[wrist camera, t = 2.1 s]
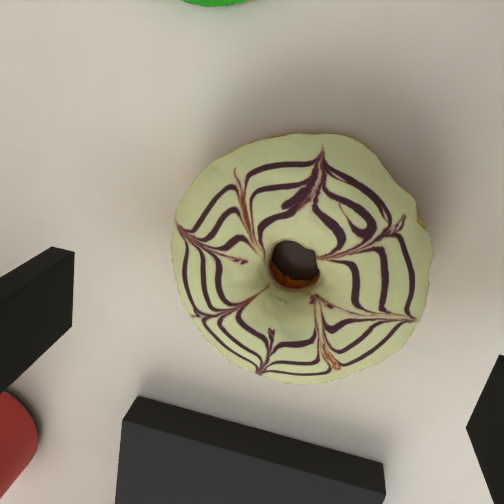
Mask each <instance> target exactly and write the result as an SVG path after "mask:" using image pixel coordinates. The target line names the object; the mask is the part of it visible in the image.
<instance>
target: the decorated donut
mask: <svg viewBox="0 0 504 504" xmlns="http://www.w3.org/2000/svg"><path fill="white" fill-rule="evenodd" d="M284 240H291V241H295V242H297V243H299V244H301V245H302V246H303V247H305V248H307V249H312V250H314V251H315V256H316V262H317V266H318V268H319V270H320V271H319V274H318V275H317V276H316V277H314V278H313V280H309V281H306V280H305V281H303V280H301V281H299V280H297V279H296V280H292V279H290V278H289V277H288V276H283V274H284V273H281V272H280V271H279V270H278V269H277V267H276V265H274V263H273V262H272V260H271V257H272V253H273V249H274V247H275V245H276V244H277V243H279V242H281V241H284ZM171 250H172V262H173V266H174V274H175V279H176V282H177V287H178V292H179V295H180V297H181V299H182V301H183V304H184V306H185V309H186V311H187V313H188V315H189V316H190V318H191V320H192V321H193V323H195V324H196V326H197V328H198V329H199V331H200V332H201V334H202V335H203V336H204V337H205V339H206V340H207V341H208V342H209V343H210V344H211V345H212V346H213V347H214V348H216V349H217V350H218V352H219V353H220V354H221V355H222V356H223V357H224V358H226V359H227V360H229V361H230V362H232V363H234V364H236V365H237V366H238V367H240V368H244V369H247V370H249V371H251V372H254V373H255V374H258V375H260V376H262V377H265V378H268V379H273V380H279V381H282V382H284V383H288V384H291V383H294V384H310V383H325V382H329V381H332V380H335V379H337V378H341V377H344V376H347V375H349V374H351V373H354V372H356V371H359V370H362V369H364V368H366V367H369V366H372V365H375V364H377V363H379V362H381V361H383V360H385V359H386V358H387V357H389V356H390V355H392V354H394V353H395V352H396V351H398V350H399V349H400V348H401V347H402V346H403V345H404V344H405V343H406V341H407V340H408V338H409V337H410V335H411V334H412V332H413V330H414V328H415V326H416V324H417V323H418V322H419V321H420V319H421V316H422V313H423V310H424V308H425V304H426V299H427V294H428V289H429V285H430V282H429V268H430V265H431V262H432V259H433V254H434V252H433V247H432V242H431V238H430V236H429V234H428V233H427V231H426V228H425V226H424V224H423V222H422V221H421V220H420V218H419V217H418V213H417V211H416V202H415V200H414V198H413V197H412V196H411V195H410V194H409V193H408V192H406V191H405V190H403V189H402V188H401V187H400V186H399V185H398V184H397V183H396V182H395V181H394V180H393V178H392V177H391V175H390V174H389V172H388V171H387V170H386V169H385V168H384V167H383V165H382V163H381V162H380V160H379V159H378V157H377V156H376V155H375V154H374V153H373V152H372V151H370V150H369V149H368V148H366V147H365V146H364V145H363V144H362V143H360V142H358V141H356V140H354V139H352V138H349V137H346V136H342V135H337V134H318V135H311V134H289V135H286V136H279V137H272V138H268V139H264V140H258V141H254V142H251V143H249V144H246V145H243V146H241V147H240V148H238V149H236V150H234V151H232V152H231V153H229V154H227V155H225V156H223V157H221V158H219V159H217V160H215V161H214V162H212V163H211V164H210V165H209V166H207V167H206V168H205V169H204V170H203V171H202V172H201V173H200V174H199V175H198V176H197V177H196V178H195V180H194V181H193V182H192V184H191V186H190V188H189V189H188V190H187V191H186V192H185V194H184V196H183V198H182V199H181V200H180V202H179V204H178V206H177V209H176V215H175V220H174V230H173V234H172V243H171Z"/></svg>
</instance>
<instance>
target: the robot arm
mask: <svg viewBox="0 0 504 504" xmlns="http://www.w3.org/2000/svg"><path fill="white" fill-rule="evenodd" d="M74 257H75V252H73V251H69V250H65V249H61V248H56V247H50V248H49V249H47V250H45V251H44V252H42V253H40V254H39V255H37V256H35V257H34V258H32V259H30V260H29V261H27V262H25V263H24V264H22V265H20V266H19V267H17V268H15V269H14V270H12V271H10V272H9V273H7V274H5V275H4V276H2V277H0V394H1V393H2V392H3V391H5V390H6V389H7V388H8V387H9V386H10V385H11V384H12V383H13V382H14V381H15V380H16V379H17V378H18V377H19V376H20V375H21V374H22V373H23V372H24V371H26V370H27V369H28V368H29V367H30V366H31V365H32V364H33V363H34V362H35V361H36V360H37V359H38V358H39V357H40V356H41V355H42V354H43V353H44V352H45V351H47V350H48V349H49V348H50V347H51V346H52V345H53V344H54V343H55V342H56V341H57V340H58V339H59V338H60V337H61V336H62V335H63V334H64V333H65V332H66V331H68V330H69V329H70V328H71V327H72V311H73V284H74ZM466 430H467V432H468V435H469V438H470V440H471V443H472V446H473V448H474V451H475V454H476V456H477V459H478V462H479V465H480V467H481V470H482V473H483V475H484V478H485V481H486V483H487V486H488V489H489V491H490V494H491V497H492V499H493V502H494V504H504V356H503V355H499V356H498V358H497V361H496V363H495V365H494V367H493V369H492V372H491V374H490V376H489V378H488V380H487V382H486V385H485V387H484V389H483V391H482V393H481V395H480V398H479V400H478V402H477V404H476V406H475V408H474V411H473V413H472V415H471V417H470V419H469V422H468V424H467V426H466Z"/></svg>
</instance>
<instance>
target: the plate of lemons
mask: <svg viewBox="0 0 504 504" xmlns="http://www.w3.org/2000/svg"><path fill="white" fill-rule="evenodd" d="M182 1H184V2H186V3H191V4H196V5H201V6H206V7H209V6H228V5H231V4H235V3H239V2H243V1H246V0H182Z"/></svg>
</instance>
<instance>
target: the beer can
mask: <svg viewBox="0 0 504 504" xmlns="http://www.w3.org/2000/svg"><path fill="white" fill-rule="evenodd" d="M37 443H38V433H37V430H36V426H35V422H34V420H33V419H32V417H31V415H30V414H29V412H28V410H27V409H26V408H25V407H24V406H23V405H22V404H21V403H20V402H19V401H18V400H17V399H16V398H15V397H14V396H12V395H10V394H9V393H7V392H6V391H3V392H2V393H1V394H0V499H1V497H2V496H3V495H4V494H5V492H6V491H7V490H8V489H9V487H10V486H11V485H12V484H13V482H14V481H15V480H16V479H17V477H18V476H19V475H20V474H21V472H22V471H23V470H24V469H25V467H26V466H27V465H28V464H29V462H30V461H31V460H32V458H33V456H34V455H35V453H36V450H37Z"/></svg>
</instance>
